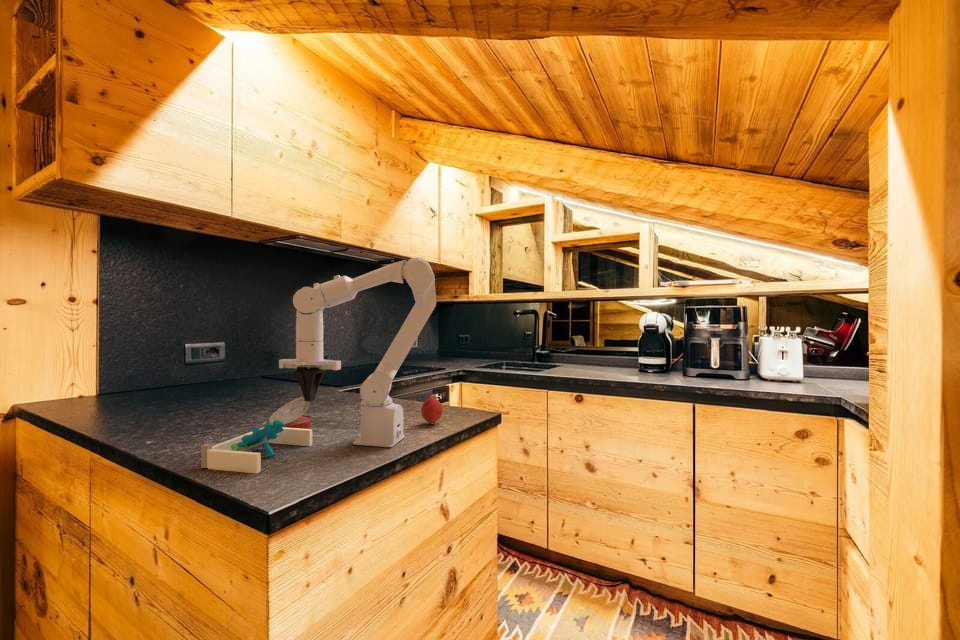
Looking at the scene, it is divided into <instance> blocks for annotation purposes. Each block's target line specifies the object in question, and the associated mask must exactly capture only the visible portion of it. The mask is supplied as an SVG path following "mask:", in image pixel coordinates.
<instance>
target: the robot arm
mask: <svg viewBox="0 0 960 640" xmlns="http://www.w3.org/2000/svg"><path fill="white" fill-rule="evenodd" d="M404 280H405V281H406V283H407V284H408V286H409V287H410V289H411V292H412V295H413V299H414V301H415V303H414V305H413V306H412V308H411V310H410V312H409V313H408V315H407V317H406V319H405V320H404V321H403V324H402V325H401V327H400V329H399V330H398V332H397V334H396V335H395V336H394V339H393V340H392V341H391V344H390V346H389V347H388V349H387V350H386V352H385V354H384V355H383V357H382V359H381V361H380V362H379V364H378V366H377V367H376V368H375V370H374V372H372V373H371V374H369V376H367V378H366V379H365V380H363V382H362V384H361V385H360V388H359V395H360V398H361V399H362V400H361V401H360V437H359V438H358V439H356V440H355V441H352V444H353V445H356V446H357V445H358V446H369V447H378V448H379V447H383V448H392V447H394V446H396V444H398V443H399V442H400V441H401V440H403V439H404V438H405V435H404V408H403V406H402V404H397V403H394V402H393V399H392V398H391V396H390V395H389V394H390V391H391V389H392V385H393V381H394V378H395V377H396V374H397V372H398V371H399V369H400V367H401V366H402V364H403V363H404V361H405V359H406V357H407V356H408V354H409V352H410V350H411V348H412V347H413V346H414V344H415V342H416V340H417V339H418V337H419V335H420V333H421V332H422V330H423V329H424V326H425V325H426V323H427V321H428V320H429V318H430V317H431V315H432V313H433V312H434V310H435V308H436V307H437V295H436V279H435V273H434V272H433V269H432V267H431V265H430V263H429V262H428V261H427V260H426V259H425V258H423V257H419V256H418V257H412V258H409V259H408V260H406V259H405V260H399V261H397V262H393V263H390V264H388V265H384V266H382V267H380V268H377V269H374V270H371V271H369V272H367V273H366V272H365V273H364V274H362V275H359V276H356V277H353V278H351V277H349V276H347V275H343V276H341V275H339V274H337V275H334V276H333V278H332V279H331V280H328V281H325V282H323V283H319V282H316V283H313V287H311V286H304V287H302V288H300V289H298V290H297V291H296V292H295V293H294V294H293V296H292V303H293V307H294V308H295V309H296V320H295V342H296V343H295V358H284V359H283V358H282V359H279V360H278V368H279V369H296V370H294V371H293V376H294V377H295V378H296V380H297V381H296V382H298V384H299V386H300V389H301V392H302V396H303V397H304V401H309V402H313V401H315V400H316V396H317V393H318V389H319V386H320V383H321V381H322V379H323V378H324V376H325V374H326V371H327V370H332V371H339V370H342V361H341V360H334V359H324V310H325V309H326V308H327V309H329V308H333V307H335V306H338V305H340V304H344V303H346V302H349V301H352V300H354V299H355V298H356V296H357V294H358V293H359V292H361V291H364V290H367V289H370V288H373V287H377V286H380V285H384V284H386V283H389V282H393V283H399V284H404Z"/></svg>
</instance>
